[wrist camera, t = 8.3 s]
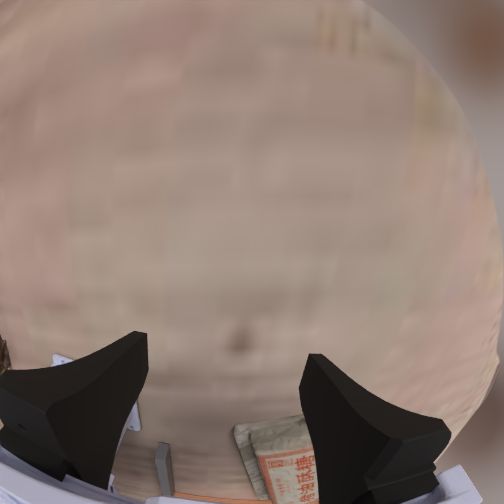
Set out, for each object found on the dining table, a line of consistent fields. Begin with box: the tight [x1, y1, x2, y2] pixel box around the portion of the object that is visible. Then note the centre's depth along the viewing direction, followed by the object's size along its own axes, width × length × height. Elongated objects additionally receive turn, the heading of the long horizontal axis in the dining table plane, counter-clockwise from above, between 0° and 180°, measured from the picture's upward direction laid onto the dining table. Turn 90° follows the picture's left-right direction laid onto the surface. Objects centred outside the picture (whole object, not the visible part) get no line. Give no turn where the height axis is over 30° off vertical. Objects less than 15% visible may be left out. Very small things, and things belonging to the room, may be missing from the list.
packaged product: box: [234, 414, 319, 504], centre depth 24 cm, size 18×5×10 cm
